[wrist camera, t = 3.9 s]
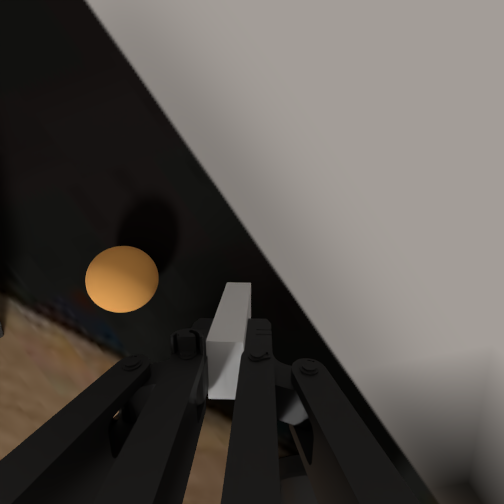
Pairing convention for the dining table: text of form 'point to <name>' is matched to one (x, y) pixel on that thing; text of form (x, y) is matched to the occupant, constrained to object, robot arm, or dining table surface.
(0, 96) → the dining table surface
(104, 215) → the dining table surface
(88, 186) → the dining table surface
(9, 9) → the dining table surface
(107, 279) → the ball
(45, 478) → the robot arm
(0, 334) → the bridge
